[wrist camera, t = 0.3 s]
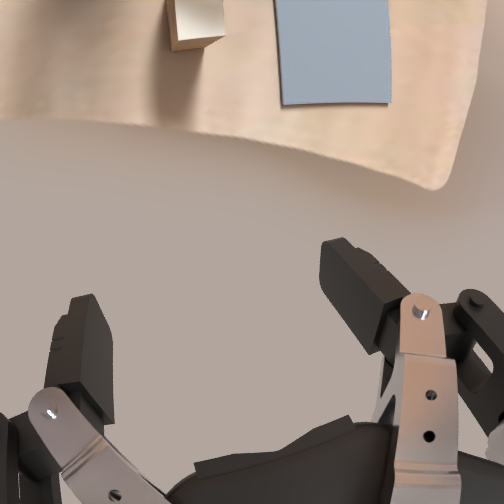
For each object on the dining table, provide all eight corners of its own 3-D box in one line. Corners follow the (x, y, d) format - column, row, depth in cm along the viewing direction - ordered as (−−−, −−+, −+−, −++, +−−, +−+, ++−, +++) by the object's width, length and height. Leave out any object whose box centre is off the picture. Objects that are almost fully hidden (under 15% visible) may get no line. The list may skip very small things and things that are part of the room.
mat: (271, -36, 24) (272, -37, 24) (384, -17, 28) (385, -18, 27) (282, 104, 34) (283, 104, 34) (389, 102, 37) (391, 103, 37)
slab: (165, -6, 24) (172, -37, 16) (200, -10, 24) (219, -40, 16) (171, 51, 28) (178, 40, 19) (205, 47, 28) (225, 35, 20)
